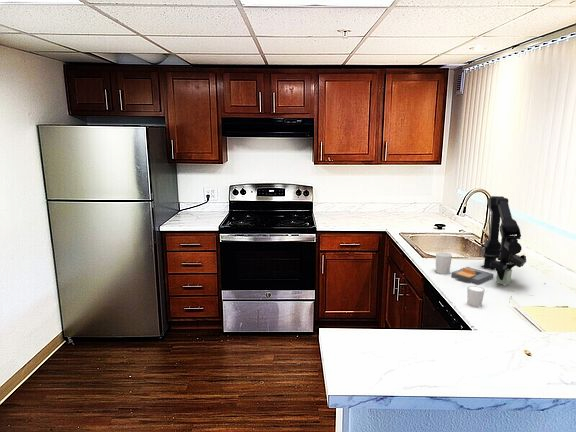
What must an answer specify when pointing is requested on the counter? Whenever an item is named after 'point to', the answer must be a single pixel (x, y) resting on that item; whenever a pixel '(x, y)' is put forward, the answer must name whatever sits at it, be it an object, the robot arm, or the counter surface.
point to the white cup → (443, 262)
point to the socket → (478, 279)
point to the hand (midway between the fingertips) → (503, 278)
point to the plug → (505, 277)
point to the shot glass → (475, 295)
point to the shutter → (467, 273)
